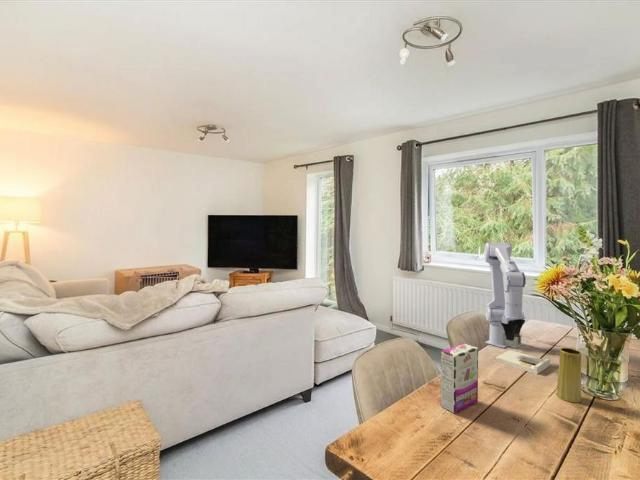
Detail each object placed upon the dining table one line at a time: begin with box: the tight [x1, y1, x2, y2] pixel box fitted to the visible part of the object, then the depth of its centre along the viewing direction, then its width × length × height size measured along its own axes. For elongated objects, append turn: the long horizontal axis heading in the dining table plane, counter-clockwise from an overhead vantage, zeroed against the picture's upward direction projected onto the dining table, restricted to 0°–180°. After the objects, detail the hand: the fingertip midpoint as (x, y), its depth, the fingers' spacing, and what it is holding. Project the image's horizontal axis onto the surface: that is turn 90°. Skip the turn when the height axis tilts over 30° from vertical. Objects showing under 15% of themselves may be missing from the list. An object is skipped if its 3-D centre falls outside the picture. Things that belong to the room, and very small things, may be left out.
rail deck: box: [495, 349, 551, 375], centre depth 127 cm, size 12×14×2 cm
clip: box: [503, 333, 522, 349], centre depth 129 cm, size 4×5×5 cm
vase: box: [556, 347, 582, 403], centre depth 102 cm, size 6×6×14 cm
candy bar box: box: [440, 343, 479, 415], centre depth 97 cm, size 11×5×16 cm, turn 123°
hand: (512, 338), depth 129 cm, fingers closed on clip, 4 cm apart
